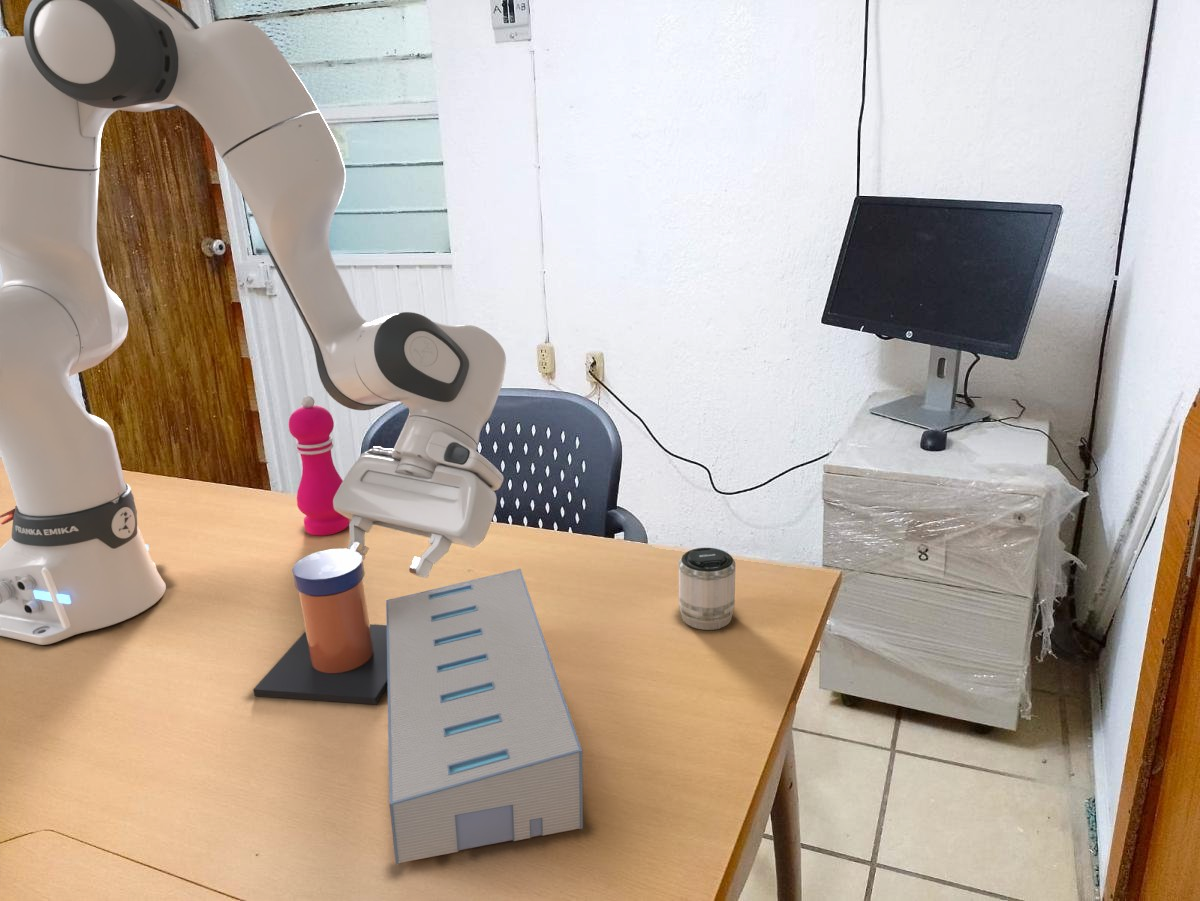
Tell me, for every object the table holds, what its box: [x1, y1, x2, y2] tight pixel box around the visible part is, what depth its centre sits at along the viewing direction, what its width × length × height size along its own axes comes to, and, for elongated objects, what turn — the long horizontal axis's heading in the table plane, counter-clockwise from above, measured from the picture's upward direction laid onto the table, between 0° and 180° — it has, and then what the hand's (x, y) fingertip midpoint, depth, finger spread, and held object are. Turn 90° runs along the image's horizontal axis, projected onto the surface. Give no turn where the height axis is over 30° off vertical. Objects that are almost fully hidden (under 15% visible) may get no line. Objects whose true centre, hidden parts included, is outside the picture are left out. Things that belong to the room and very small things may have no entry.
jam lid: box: [291, 548, 366, 596], centre depth 85 cm, size 7×7×2 cm
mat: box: [252, 623, 388, 705], centre depth 88 cm, size 13×13×1 cm
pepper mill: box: [288, 395, 350, 536], centre depth 118 cm, size 7×7×20 cm
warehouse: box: [385, 568, 584, 865], centre depth 76 cm, size 30×14×8 cm, turn 14°
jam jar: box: [298, 578, 374, 673], centre depth 86 cm, size 6×6×11 cm
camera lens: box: [678, 547, 736, 631], centre depth 93 cm, size 6×6×8 cm
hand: (384, 566), depth 92 cm, fingers open, 8 cm apart
